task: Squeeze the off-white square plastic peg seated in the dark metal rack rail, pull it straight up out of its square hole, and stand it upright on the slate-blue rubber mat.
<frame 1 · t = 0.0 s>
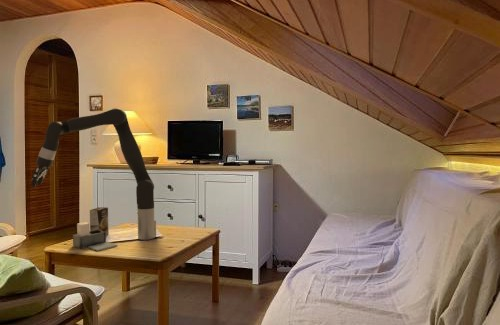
hand: (35, 185, 204), 31 cm above the table, tool tilted 20°, fingers open, 8 cm apart
coffee box: (99, 236, 220), on the table
square peg: (83, 245, 201), resting in rack rail
rubber mat: (103, 247, 199), on the table
rack rail: (89, 244, 204), on the table
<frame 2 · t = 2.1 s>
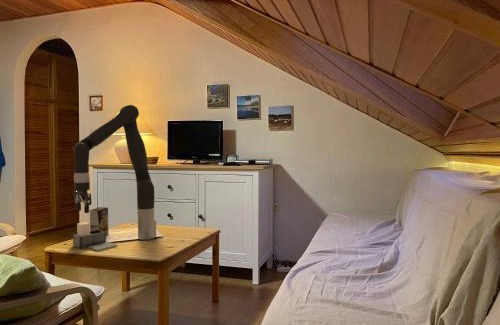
hand: (82, 211, 200), 18 cm above the table, tool pointing down, fingers open, 8 cm apart
nothing on the table moved.
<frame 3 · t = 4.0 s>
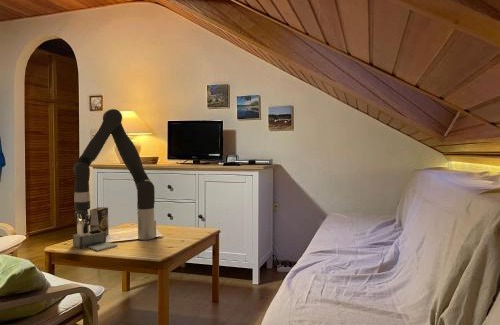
hand: (83, 232, 201), 7 cm above the table, tool pointing down, fingers closed on square peg, 4 cm apart
square peg: (83, 245, 201), resting in rack rail, touching gripper
everything else where it was.
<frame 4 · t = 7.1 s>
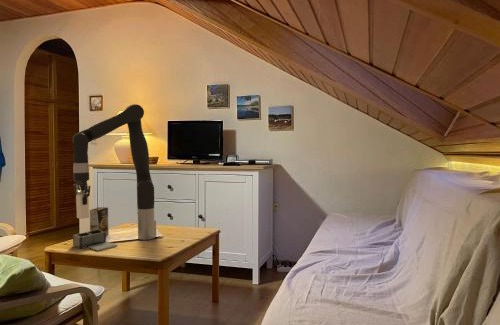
hand: (82, 203, 199), 22 cm above the table, tool pointing down, fingers closed on square peg, 4 cm apart
square peg: (83, 217, 200), point 15 cm above the table, touching gripper
everything else where it was.
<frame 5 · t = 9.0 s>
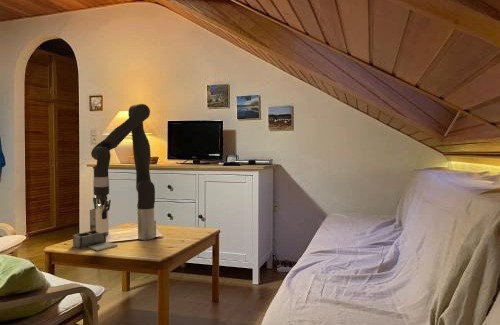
hand: (101, 217, 198), 15 cm above the table, tool pointing down, fingers closed on square peg, 4 cm apart
square peg: (102, 231, 198), point 8 cm above the table, touching gripper
everything else where it was.
when the fingers open (10 cm above the table, at t = 10.6 s): square peg drops 1 cm, resting on rubber mat.
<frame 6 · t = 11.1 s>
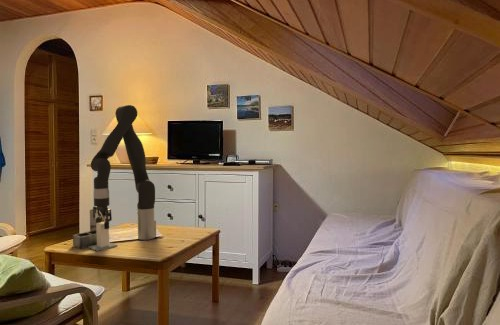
hand: (102, 227, 198), 10 cm above the table, tool pointing down, fingers open, 8 cm apart
square peg: (103, 245, 199), point 1 cm above the table, touching rubber mat
everything else where it was.
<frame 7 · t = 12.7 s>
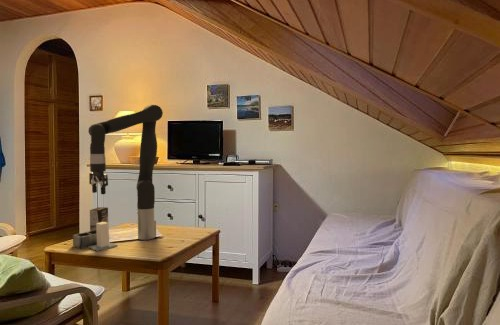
hand: (98, 193, 200), 28 cm above the table, tool pointing down, fingers open, 8 cm apart
nothing on the table moved.
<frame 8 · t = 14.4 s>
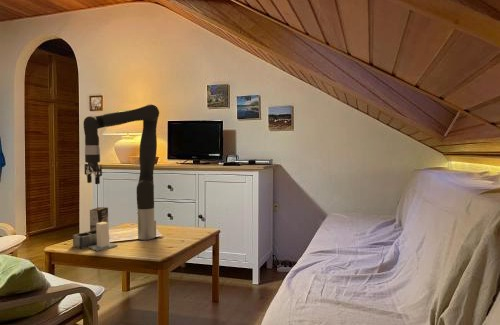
hand: (93, 183, 207), 32 cm above the table, tool pointing down, fingers open, 8 cm apart
nothing on the table moved.
at the end: square peg inside the target area on the rubber mat (0.0 cm from its centre), point 0.8 cm above the rubber mat's base; square peg tilted 0°; the gripper is holding nothing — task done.
